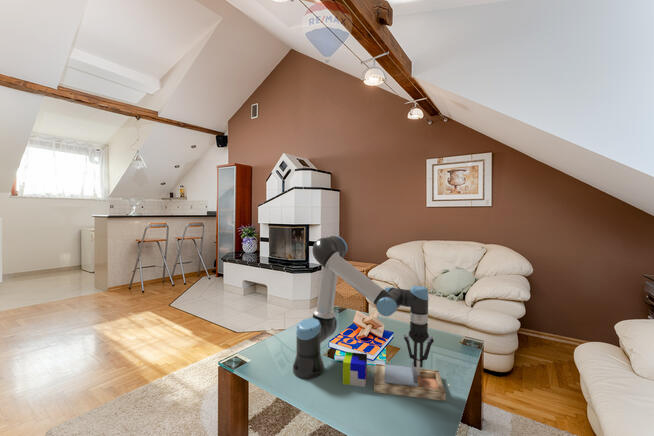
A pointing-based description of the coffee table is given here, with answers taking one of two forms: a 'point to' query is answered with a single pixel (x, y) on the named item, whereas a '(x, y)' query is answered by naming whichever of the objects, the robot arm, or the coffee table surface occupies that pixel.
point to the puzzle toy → (355, 369)
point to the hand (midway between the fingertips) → (417, 373)
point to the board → (427, 386)
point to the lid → (401, 375)
